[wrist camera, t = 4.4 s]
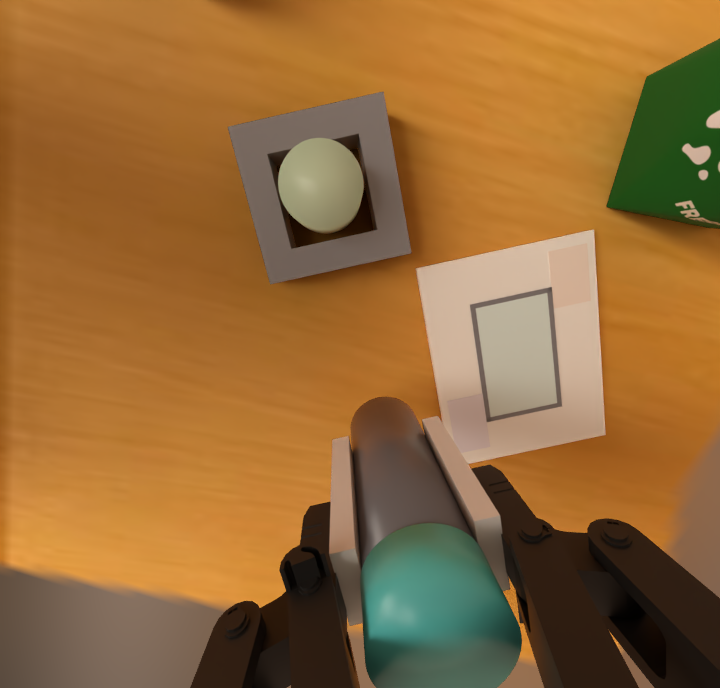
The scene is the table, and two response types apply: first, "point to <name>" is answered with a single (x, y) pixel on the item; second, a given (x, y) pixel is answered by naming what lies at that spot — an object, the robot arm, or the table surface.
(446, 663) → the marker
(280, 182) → the button cap
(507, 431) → the sheet
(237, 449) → the table surface
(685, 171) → the milk carton
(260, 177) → the button housing
